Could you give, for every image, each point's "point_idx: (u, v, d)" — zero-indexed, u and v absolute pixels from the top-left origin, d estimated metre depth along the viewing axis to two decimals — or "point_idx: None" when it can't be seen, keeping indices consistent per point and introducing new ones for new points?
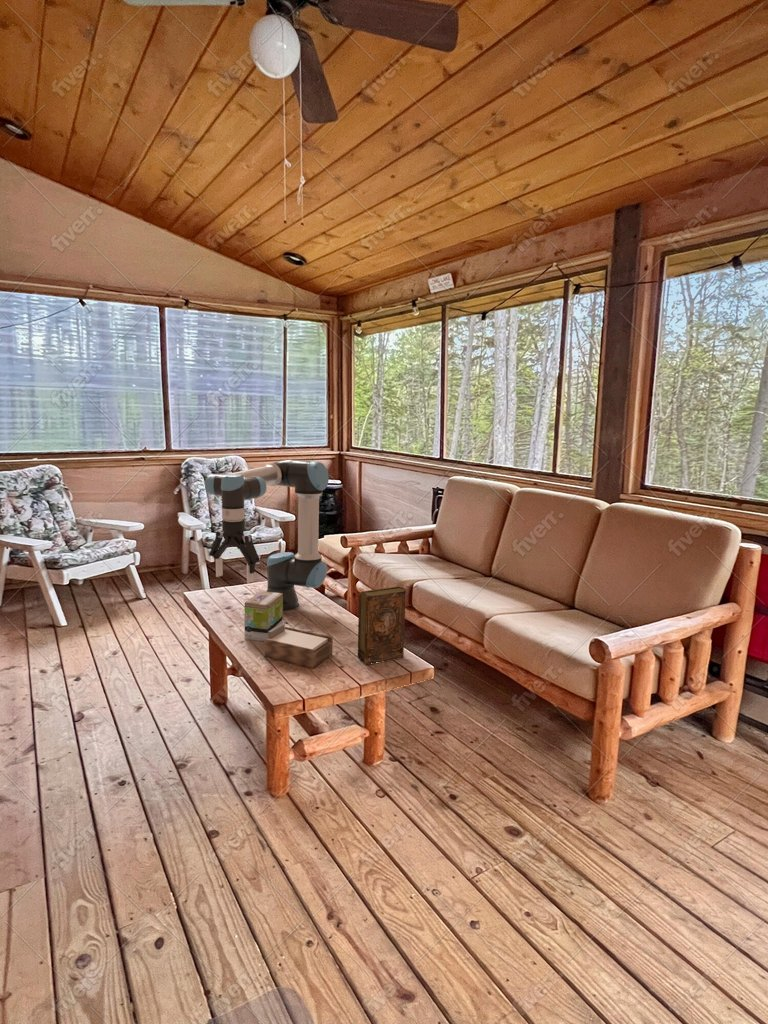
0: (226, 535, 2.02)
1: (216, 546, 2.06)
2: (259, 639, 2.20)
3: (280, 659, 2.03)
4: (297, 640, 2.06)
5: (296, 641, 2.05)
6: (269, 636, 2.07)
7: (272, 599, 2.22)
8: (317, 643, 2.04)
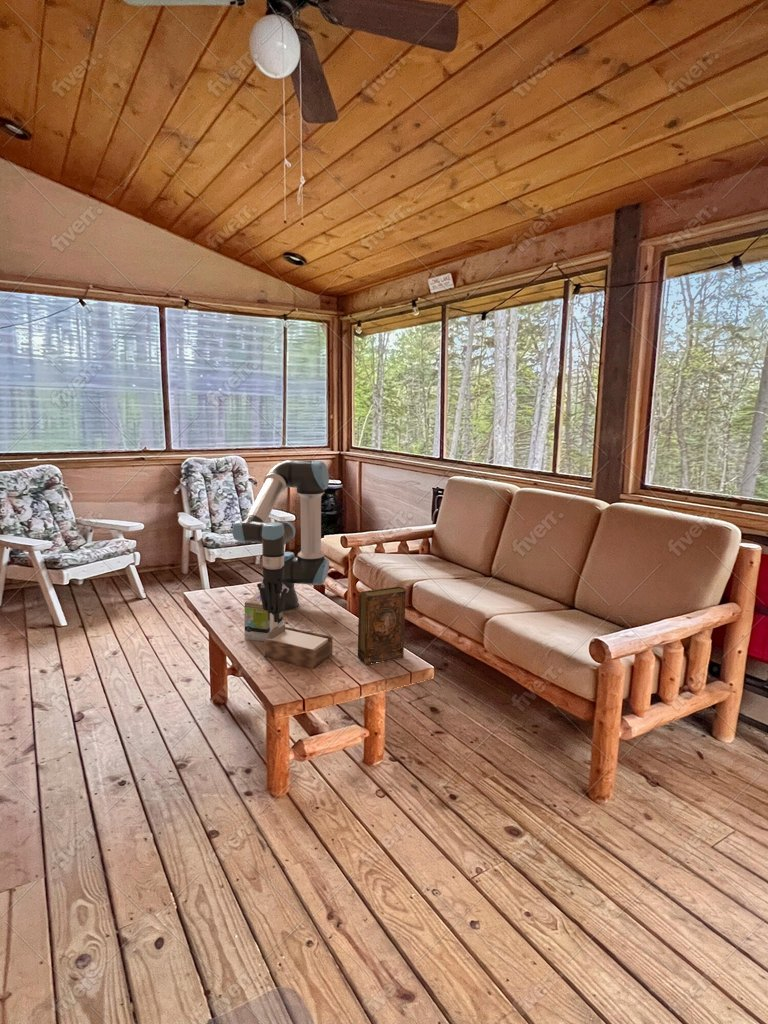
0: (265, 580, 2.07)
1: (265, 598, 2.09)
2: (259, 639, 2.20)
3: (280, 659, 2.03)
4: (297, 640, 2.06)
5: (297, 642, 2.05)
6: (270, 636, 2.07)
7: None
8: (318, 643, 2.04)
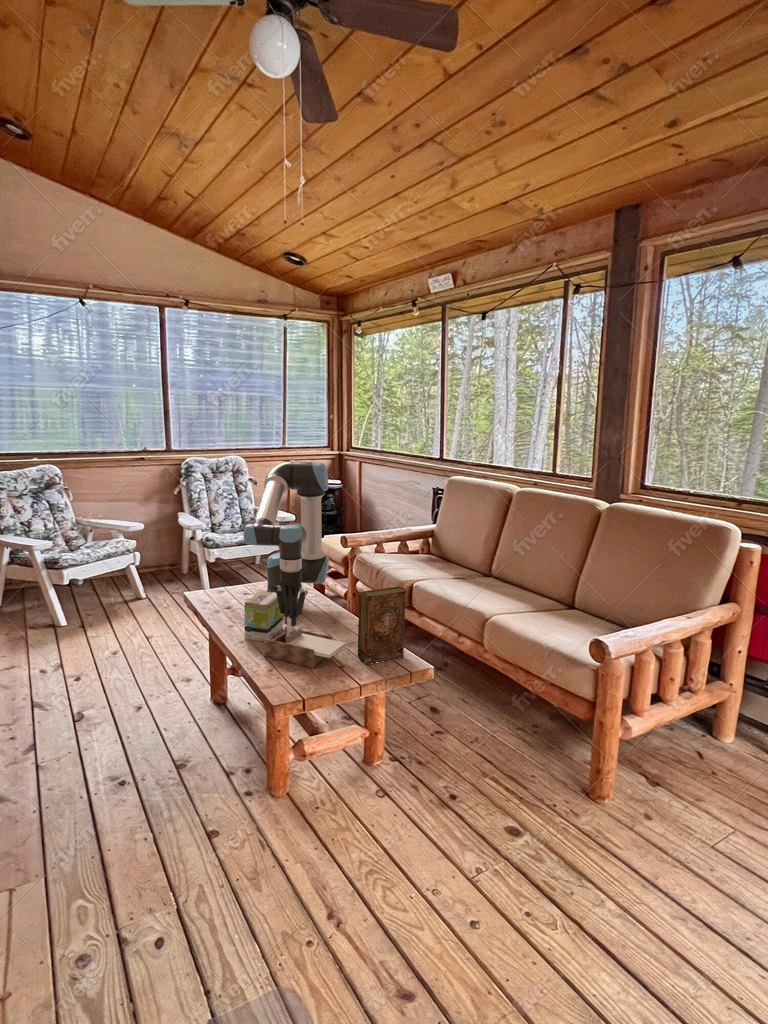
0: (283, 583, 2.04)
1: (282, 601, 2.06)
2: (259, 639, 2.20)
3: (280, 659, 2.03)
4: (314, 645, 2.02)
5: (314, 646, 2.01)
6: (286, 640, 2.03)
7: (272, 599, 2.22)
8: (335, 648, 2.00)
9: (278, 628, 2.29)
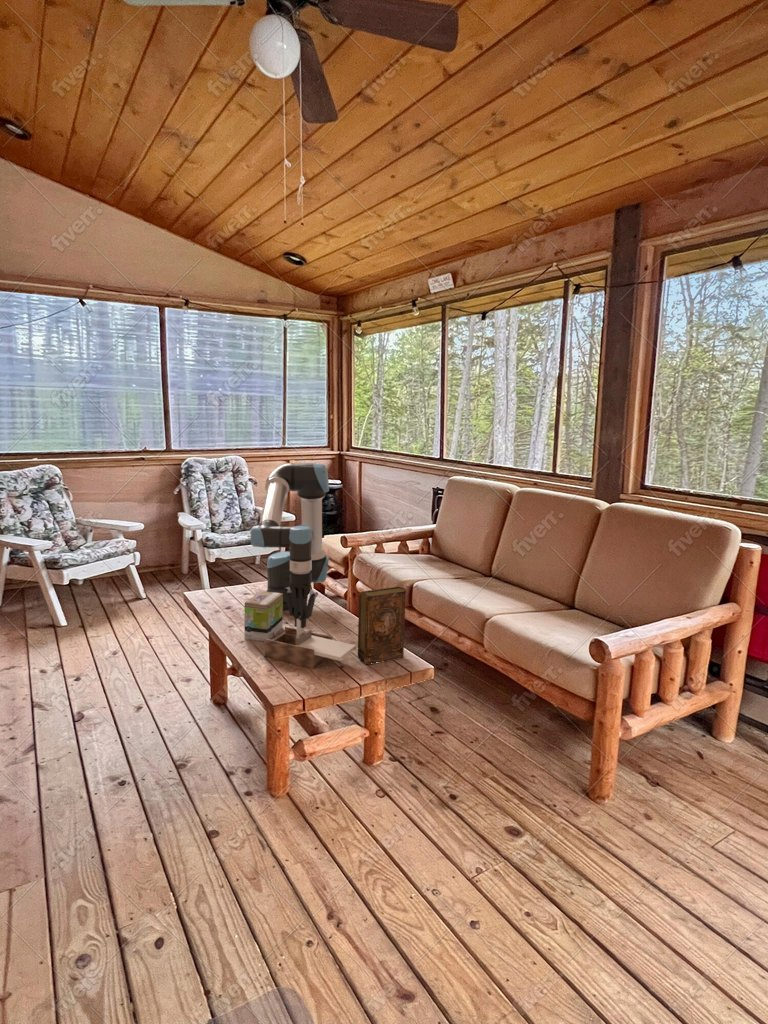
0: (292, 585, 2.03)
1: (291, 603, 2.05)
2: (259, 639, 2.20)
3: (280, 659, 2.03)
4: (325, 647, 2.01)
5: (324, 648, 2.00)
6: (296, 642, 2.02)
7: (272, 599, 2.22)
8: (346, 650, 1.99)
9: (278, 628, 2.29)
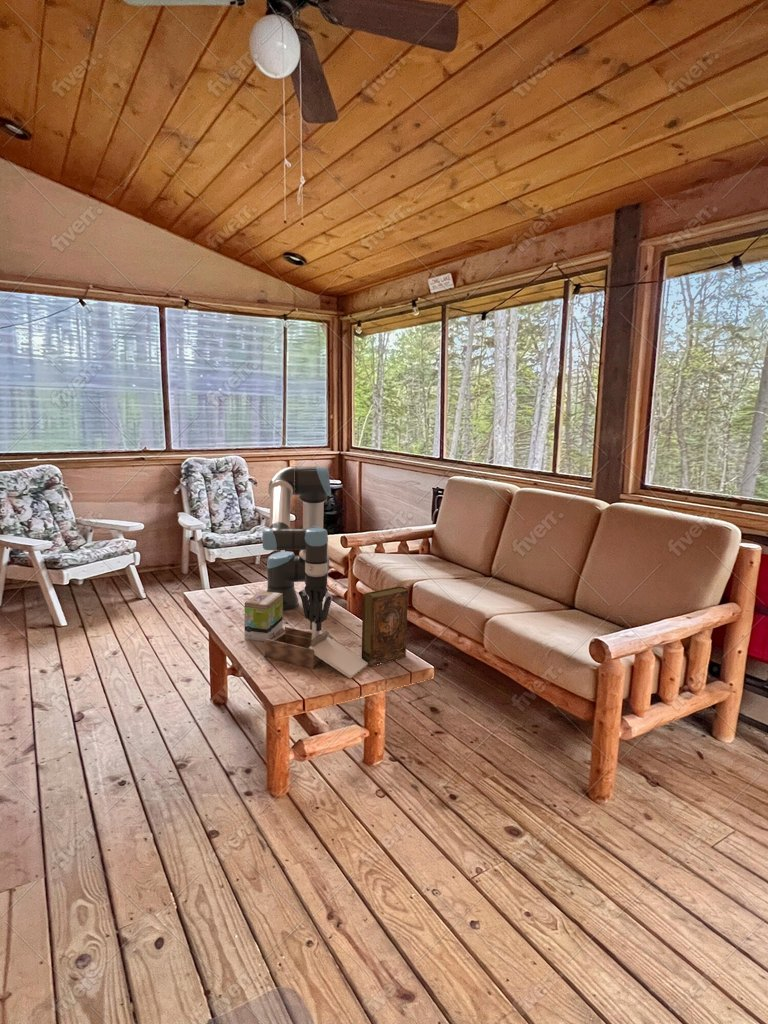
0: (308, 587, 2.00)
1: (306, 606, 2.02)
2: (259, 639, 2.20)
3: (280, 659, 2.03)
4: (338, 657, 1.98)
5: (338, 659, 1.97)
6: (312, 644, 1.99)
7: (272, 599, 2.22)
8: (358, 667, 1.97)
9: (278, 628, 2.29)
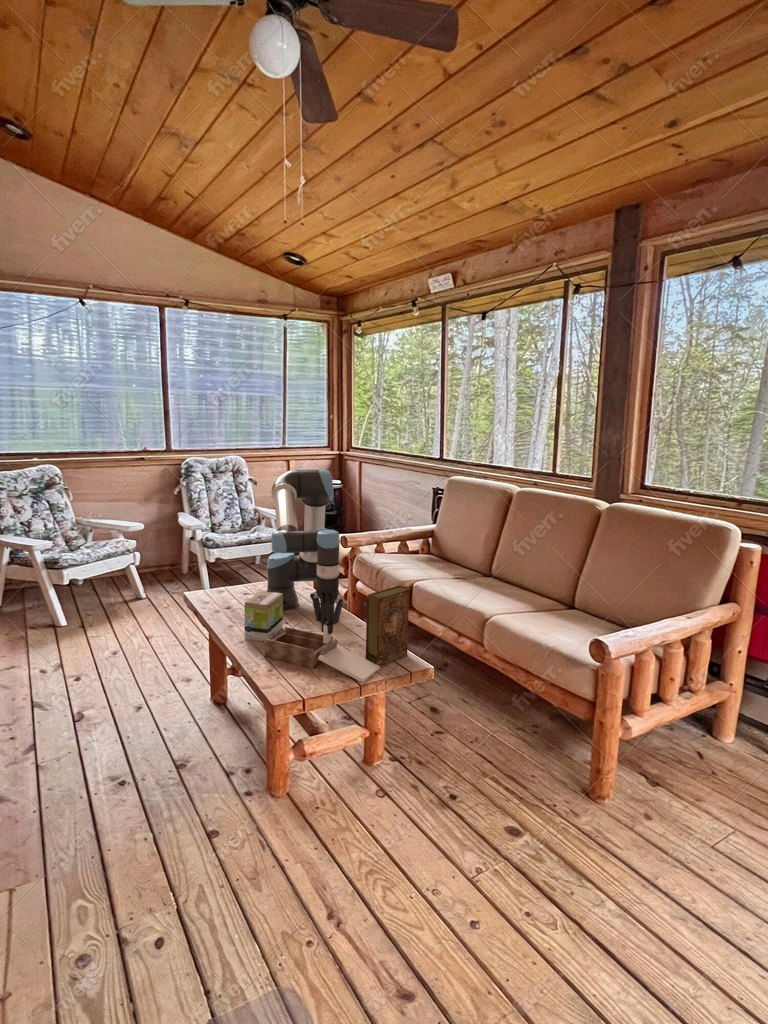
0: (319, 590, 1.98)
1: (318, 608, 2.00)
2: (259, 639, 2.20)
3: (280, 659, 2.03)
4: (349, 663, 1.96)
5: (348, 665, 1.95)
6: (321, 652, 1.98)
7: (272, 599, 2.22)
8: (370, 671, 1.94)
9: (278, 628, 2.29)
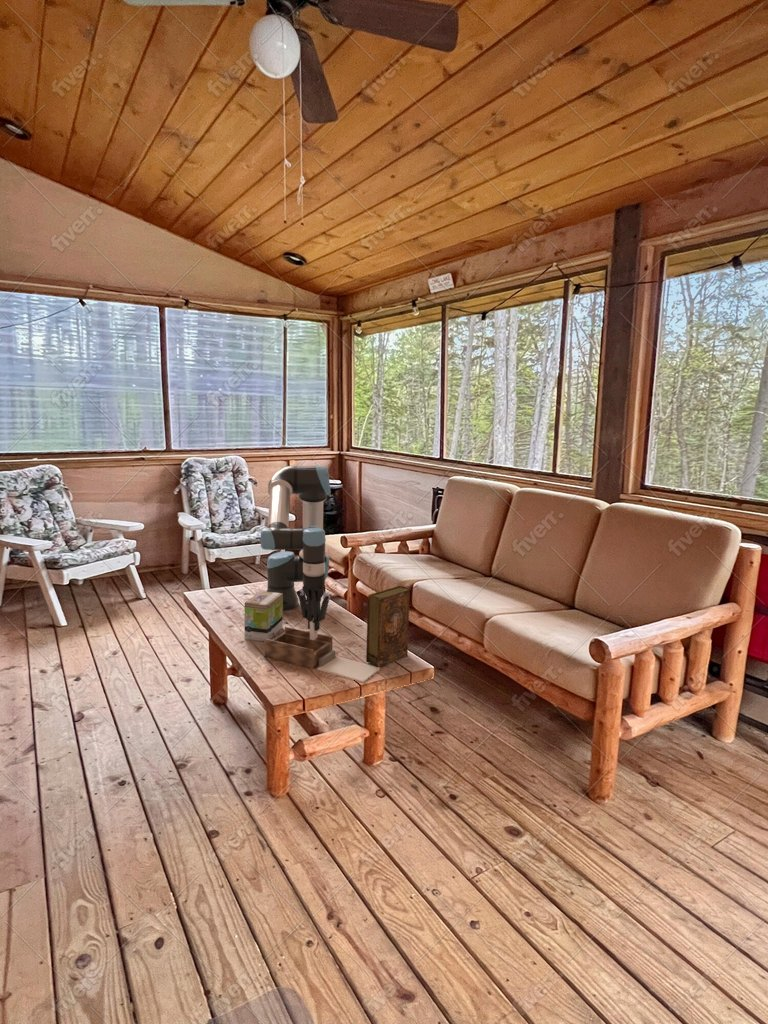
0: (305, 587, 2.01)
1: (304, 605, 2.03)
2: (259, 639, 2.20)
3: (280, 659, 2.03)
4: (348, 669, 1.97)
5: (348, 671, 1.96)
6: (320, 664, 1.99)
7: (272, 599, 2.22)
8: (369, 673, 1.95)
9: (278, 628, 2.29)
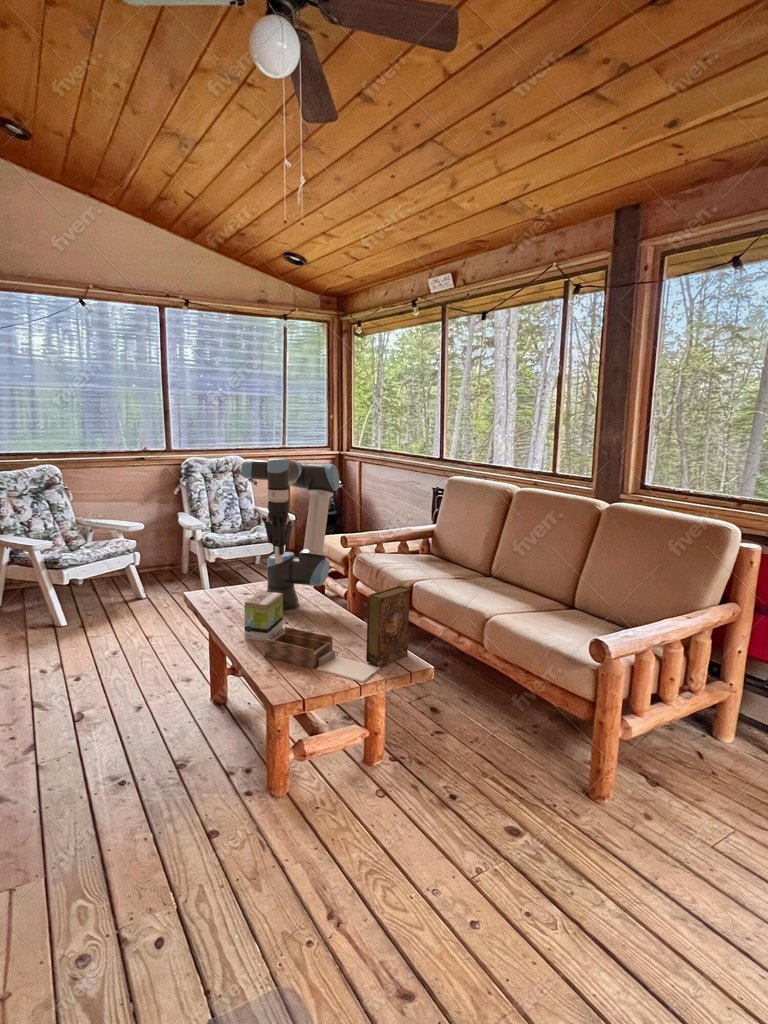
0: (271, 514, 2.15)
1: (270, 531, 2.18)
2: (259, 639, 2.20)
3: (280, 659, 2.03)
4: (348, 669, 1.97)
5: (347, 670, 1.96)
6: (319, 664, 1.99)
7: (272, 599, 2.22)
8: (369, 673, 1.95)
9: (278, 628, 2.29)
